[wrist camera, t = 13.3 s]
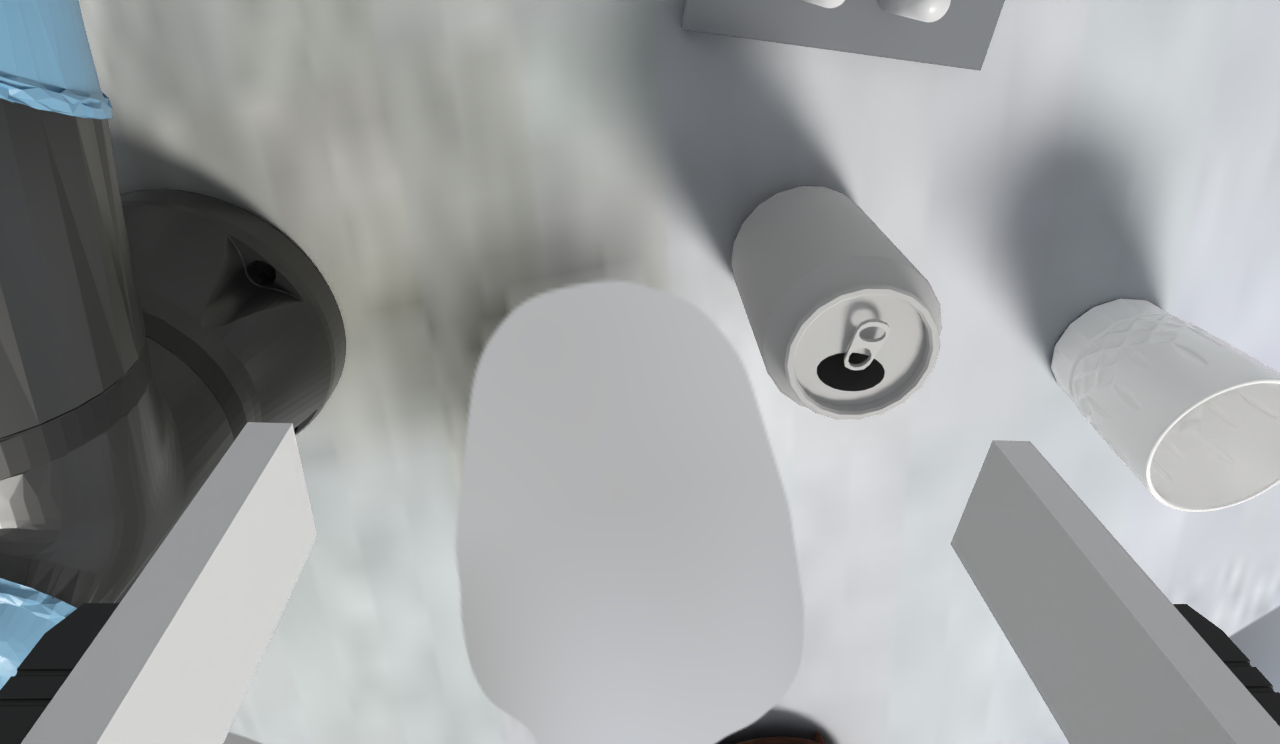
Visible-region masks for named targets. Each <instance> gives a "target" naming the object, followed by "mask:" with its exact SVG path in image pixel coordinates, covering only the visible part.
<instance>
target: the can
mask: <svg viewBox="0 0 1280 744" xmlns="http://www.w3.org/2000/svg"><path fill="white" fill-rule="evenodd" d="M731 265H732V269H733V273H734V278H735V282H736V285H737V288H738V291H739V294H740V296H741V299H742V302H743V305H744V308H745V310H746V313H747V316H748V319H749V322H750V325H751V327H752V330H753V333H754V336H755V339H756V341H757V344H758V347H759V350H760V353H761V356H762V358H763V361H764V364H765V367H766V370H767V372H768V374H769V376H770V377H771V378H772V380H773V381H774V383H775V384H776V386H777V387H778V389H779V390H780V392H782V393H783V394H785V395H786V396H787V397H789V398H790V399H792V400H793V401H795V402H796V403H797V404H799V405H801V406H804V407H808V408H809V409H811V410H812V411H814V412H815V413H817V414H821V415H824V416H827V417H831V418H834V419H863V418H867V417H871V416H875V415H879V414H883V413H885V412H887V411H888V410H890V409H892V408H894V407H896V406H898V405H900V404H902V403H904V402H905V401H906V400H907V399H908V398H909V397H911V396H912V395H913V394H914V393H915V392H916V391H917V390H918V389H920V388H921V387H922V385H923V384H924V382H925V381H926V379H927V378H928V376H929V375H930V373H931V372H932V370H933V369H934V366H935V363H936V359H937V356H938V352H939V349H940V339H939V336H940V333H941V329H942V325H941V311H940V303H939V301H938V299H937V297H936V295H935V293H934V291H933V289H932V287H931V285H930V283H929V282H928V281H927V279H926V278H925V277H924V276H923V275H922V274H921V273H920V272H919V271H918V270H917V269H916V268H915V267H914V265H913V264H912V263H911V262H910V261H909V260H908V259H907V258H906V257H905V256H904V255H903V254H902V253H901V251H900V250H899V249H898V248H897V247H896V246H895V245H894V244H893V243H892V242H891V241H890V240H889V238H888V237H887V236H886V235H885V234H884V233H883V232H882V231H881V230H880V229H879V228H878V227H877V226H876V224H875V223H874V222H873V221H872V220H871V219H870V218H869V217H868V216H867V215H866V214H865V213H864V211H863V210H862V209H861V208H860V207H859V206H857V205H856V204H855V203H854V202H853V201H852V200H851V199H849V198H848V197H847V196H846V195H845V194H842V193H840V192H837V191H834V190H832V189H829V188H826V187H818V186H800V187H796V188H793V189H789V190H786V191H782V192H779V193H777V194H775V195H774V196H772V197H771V198H769V199H767V200H766V201H764V202H763V203H761V204H760V205H758V206H757V207H756V208H755V210H754V211H753V212H752V213H751V214H750V215H749V216H748V218H747V219H746V220H745V221H744V222H743V223H742V226H741V228H740V230H739V232H738V235H737V237H736V239H735V241H734V244H733V253H732V263H731Z"/></svg>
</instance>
